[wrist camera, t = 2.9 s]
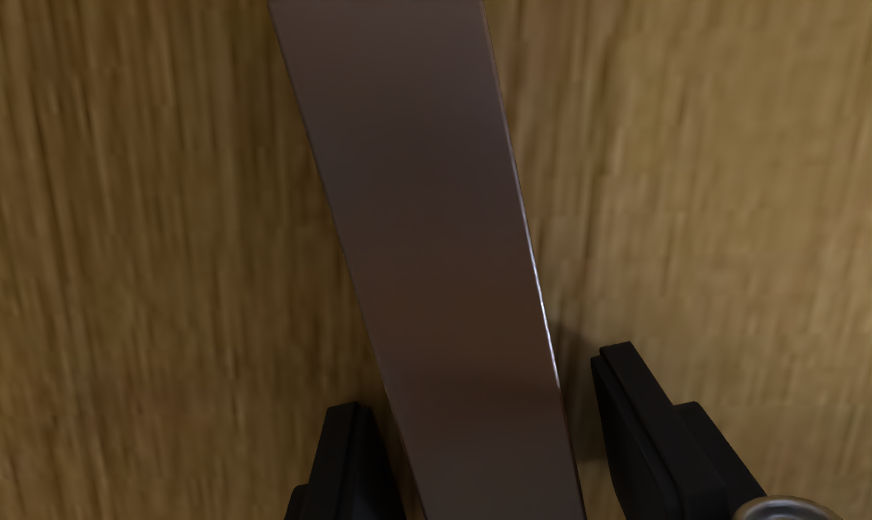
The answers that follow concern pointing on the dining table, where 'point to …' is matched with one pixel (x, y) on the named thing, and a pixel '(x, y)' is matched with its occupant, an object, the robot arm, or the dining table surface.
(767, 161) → the dining table surface
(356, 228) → the stick
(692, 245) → the dining table surface
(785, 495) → the robot arm
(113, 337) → the dining table surface
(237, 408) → the dining table surface
